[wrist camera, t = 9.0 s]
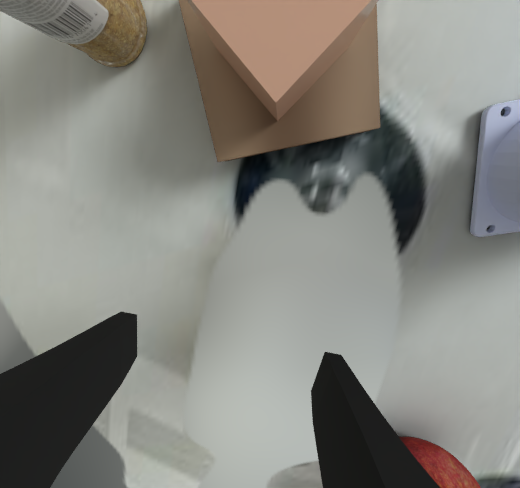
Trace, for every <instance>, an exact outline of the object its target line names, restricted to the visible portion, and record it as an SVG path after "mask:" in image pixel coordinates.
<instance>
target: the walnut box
mask: <svg viewBox="0 0 520 488" xmlns="http://www.w3.org/2000/svg"><path fill="white" fill-rule="evenodd" d="M179 3H180V8H181V12H182V16H183V20H184V24H185V28H186V32H187V37H188V41H189V45H190V49H191V53H192V57H193V62H194V66H195V70H196V74H197V78H198V82H199V86H200V91H201V95H202V99H203V103H204V107H205V111H206V115H207V120H208V124H209V128H210V132H211V136H212V140H213V145H214V149H215V153H216V157H217V161H218V162H223V161H229V160H234V159H239V158H244V157H248V156H253V155H258V154H263V153H267V152H272V151H277V150H281V149H286V148H291V147H296V146H300V145H305V144H310V143H315V142H319V141H324V140H329V139H333V138H338V137H343V136H348V135H352V134H357V133H362V132H366V131H370V130H373V129H377V128H380V106H379V72H378V38H377V4H376V5H375V6H374V8H373V10H372V11H371V13H370V14H369V16H368V17H367V19H366V21H365V22H364V24H363V25H362V27H361V29H360V30H359V32H358V33H357V35H356V36H355V38H354V40H353V41H352V43H351V44H350V46H349V47H348V49H347V50H346V51H345V52H344V53H343V54H342V55H341V56H340V57H339V58H338V59H337V60H336V61H335V62H334V63H333V64H332V65H331V66H330V67H329V68H328V69H327V70H326V71H325V73H324V74H323V75H322V76H321V77H320V78H319V79H318V80H317V81H316V82H315V83H314V84H313V85H312V86H311V87H310V88H309V89H308V90H307V91H306V92H305V93H304V94H303V95H302V96H301V98H300V99H299V100H298V101H297V102H296V103H295V104H294V105H293V106H292V107H291V108H290V109H289V110H288V111H287V112H286V113H285V114H284V115H283V116H282V117H281V118H280V119H279V120H278V121H277V120H276V119H275V118H274V117H273V115H272V114H271V113H270V112H269V111H268V109H267V108H266V107H265V106H264V105H263V103H262V102H261V101H260V100H259V99H258V98H257V96H256V95H255V94H254V93H253V92H252V90H251V89H250V88H249V87H248V86H247V84H246V83H245V82H244V81H243V80H242V78H241V77H240V76H239V75H238V74H237V72H236V71H235V70H234V69H233V68H232V67H231V65H230V64H229V63H228V62H227V61H226V59H225V58H224V57H223V56H222V55H221V53H220V52H219V51H218V50H217V49H216V47H215V46H214V44H213V42H212V41H211V39H210V37H209V36H208V34H207V32H206V31H205V29H204V27H203V26H202V24H201V22H200V21H199V19H198V17H197V16H196V14H195V13H194V11H193V9H192V8H191V6H190V4H189V3H188V1H187V0H179Z"/></svg>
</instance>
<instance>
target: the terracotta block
mask: <svg viewBox="0 0 520 488" xmlns="http://www.w3.org/2000/svg"><path fill="white" fill-rule="evenodd" d="M187 1H188V3H189V4H190V6H191V8H192V9H193V11H194V13H195V14H196V16H197V17H198V19H199V21H200V22H201V24H202V26H203V27H204V29H205V31H206V32H207V34H208V36H209V37H210V39H211V41H212V42H213V44H214V46H215V47H216V49H217V50H218V51H219V52H220V53H221V55H222V56H223V57H224V58H225V59H226V61H227V62H228V63H229V64H230V65H231V67H232V68H233V69H234V70H235V71H236V72H237V74H238V75H239V76H240V77H241V78H242V80H243V81H244V82H245V83H246V84H247V86H248V87H249V88H250V89H251V90H252V92H253V93H254V94H255V95H256V96H257V98H258V99H259V100H260V101H261V102H262V103H263V105H264V106H265V107H266V108H267V109H268V111H269V112H270V113H271V114H272V115H273V117H274V118H275V119H276V120H277V121H278V120H279V119H280V118H281V117H282V116H283V115H284V114H285V113H286V112H287V111H288V110H289V109H290V108H291V107H292V106H293V105H294V104H295V103H296V102H297V101H298V100H299V99H300V98H301V96H302V95H303V94H304V93H305V92H306V91H307V90H308V89H309V88H310V87H311V86H312V85H313V84H314V83H315V82H316V81H317V80H318V79H319V78H320V77H321V76H322V75H323V74H324V73H325V71H326V70H327V69H328V68H329V67H330V66H331V65H332V64H333V63H334V62H335V61H336V60H337V59H338V58H339V57H340V56H341V55H342V54H343V53H344V52H345V51H346V50H347V49H348V47H349V46H350V44H351V43H352V41H353V40H354V38H355V36H356V35H357V33H358V32H359V30H360V29H361V27H362V25H363V24H364V22H365V21H366V19H367V17H368V16H369V14H370V13H371V11H372V10H373V8H374V6H375V5H376V3H377V2H378V0H187Z"/></svg>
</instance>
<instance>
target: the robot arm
mask: <svg viewBox="0 0 520 488" xmlns="http://www.w3.org/2000/svg"><path fill="white" fill-rule="evenodd" d="M503 108H504V110H505V113H504V115H503V116H501V113H500V112H501V110H502V109H503ZM488 226H490V229H489V230H487V231H486V229H487V227H488ZM470 232H471V234H472V235H474V236H477V237H485V236H492V235H499V234H506V233H513V232H520V99H518V100H513V101H508V102H503V103H499V104H494V105H491V106H488V107H487V108H486V109H485V110H484V111H483V113H482V116H481V125H480V135H479V146H478V156H477V166H476V176H475V186H474V196H473V207H472V217H471V227H470ZM136 357H137V315H136V314H131V313H125V312H120V313H118V314H116V315H114V316H112V317H110V318H108V319H106V320H104V321H103V322H101V323H99V324H97V325H95V326H93V327H92V328H90V329H88V330H86V331H84V332H82V333H81V334H79V335H77V336H75V337H73V338H71V339H69V340H67V341H66V342H64V343H62V344H60V345H58V346H56V347H54V348H52V349H50V350H48V351H46V352H44V353H42V354H40V355H38V356H36V357H34V358H33V359H30V360H28V361H26V362H24V363H22V364H20V365H18V366H16V367H14V368H12V369H10V370H8V371H6V372H4V373H2V374H0V488H50V487H51V485H52V484H53V482H54V480H55V479H56V477H57V475H58V474H59V472H60V471H61V469H62V467H63V466H64V464H65V463H66V461H67V460H68V459H69V457H70V456H71V454H72V453H73V451H74V450H75V448H76V447H77V446H78V444H79V443H80V441H81V440H82V439H83V437H84V436H85V435H86V433H87V432H88V430H89V429H90V428H91V426H92V425H93V423H94V422H95V421H96V419H97V418H98V416H99V415H100V414H101V412H102V411H103V409H104V408H105V407H106V405H107V404H108V402H109V401H110V400H111V398H112V397H113V395H114V394H115V392H116V391H117V390H118V388H119V387H120V385H121V384H122V382H123V380H124V379H125V377H126V375H127V373H128V372H129V370H130V368H131V366H132V364H133V363H134V361H135V359H136ZM311 396H312V416H313V426H314V432H315V439H316V446H317V452H318V459H319V465H320V471H321V478H322V484H323V488H440V487H439V485H438V484H437V483H436V482H435V481H434V480H433V478H432V477H431V476H430V475H429V474H428V473H427V471H426V470H425V469H424V468H423V467H422V465H421V464H420V463H419V462H418V461H417V459H416V458H415V457H414V456H413V454H412V453H411V452H410V451H409V449H408V448H407V447H406V445H405V444H404V443H403V442H402V440H401V439H400V438H399V436H398V435H397V434H396V433H395V431H394V430H393V429H392V427H391V426H390V425H389V423H388V422H387V421H386V419H385V418H384V417H383V415H382V414H381V412H380V411H379V410H378V408H377V407H376V405H375V404H374V403H373V401H372V400H371V398H370V397H369V395H368V394H367V393H366V391H365V390H364V388H363V387H362V385H361V384H360V383H359V381H358V379H357V378H356V377H355V375H354V373H353V372H352V371H351V369H350V367H349V366H348V364H347V363H346V362H345V360H344V359H343V357H342V356H341V355H338V354H333V353H328V352H325V353H324V356H323V359H322V362H321V365H320V367H319V370H318V373H317V376H316V379H315V382H314V384H313V387H312V390H311Z"/></svg>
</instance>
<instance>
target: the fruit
mask: <svg viewBox="0 0 520 488" xmlns="http://www.w3.org/2000/svg"><path fill="white" fill-rule="evenodd" d="M399 438H400V439H401V440H402V442H403V443H404V444H405V445H406V447H407V448H408V449H409V451H410V452H411V453H412V454H413V456H414V457H415V458H416V459H417V461H418V462H419V463H420V464H421V465H422V467H423V468H424V469H425V470H426V471H427V473H428V474H429V475H430V476H431V477H432V478H433V480H434V481H435V482H436V483H437V484H438V485H439V487H440V488H481V487H480V486H479V484H478V482H477V481H476V480H475V478H474V477H473V476H472V475H471V473H470V472H469V471H468V470H467V469H466V468H465V467H464V466H463V465H462V464H461V463H460V462H459V461H458V460H457V459H456V458H455V457H454V456H453V455H452V454H450V453H449V452H447V451H446V450H444V449H443V448H441V447H439V446H438V445H435V444H433V443H431V442H428V441H426V440H423V439H419V438H414V437H399Z"/></svg>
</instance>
